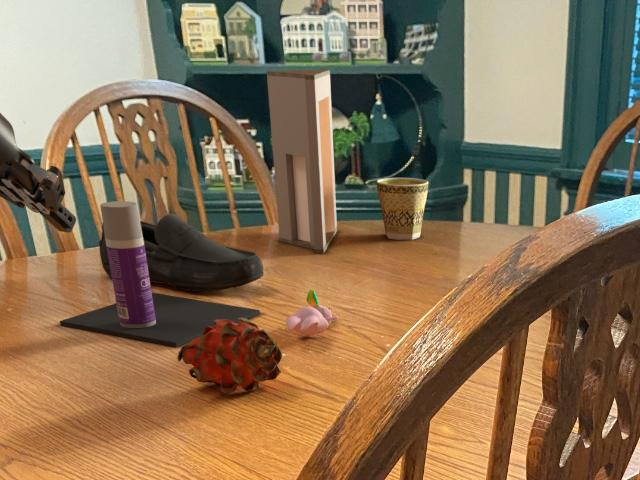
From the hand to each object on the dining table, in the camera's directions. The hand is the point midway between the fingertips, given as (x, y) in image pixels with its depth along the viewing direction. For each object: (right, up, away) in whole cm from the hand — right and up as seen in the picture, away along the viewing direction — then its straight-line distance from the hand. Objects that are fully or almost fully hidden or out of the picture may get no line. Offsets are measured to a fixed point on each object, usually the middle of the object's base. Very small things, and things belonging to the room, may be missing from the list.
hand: (69, 225), depth 108 cm
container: (+4, -8, +14) cm, 16 cm away
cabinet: (+18, +24, +65) cm, 71 cm away
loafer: (+3, +5, +35) cm, 35 cm away
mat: (+6, -6, +18) cm, 20 cm away
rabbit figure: (+27, -10, +13) cm, 32 cm away
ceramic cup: (+37, +27, +71) cm, 85 cm away
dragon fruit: (+21, -21, -5) cm, 30 cm away
